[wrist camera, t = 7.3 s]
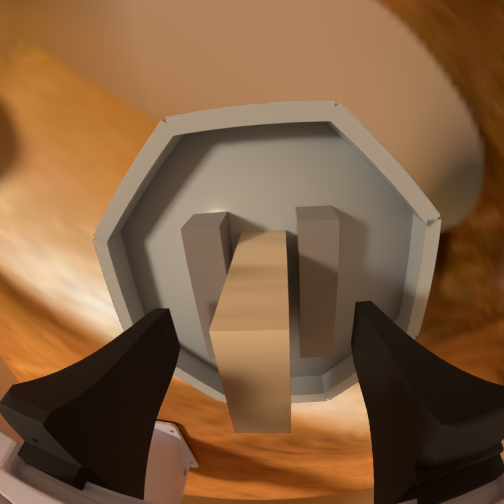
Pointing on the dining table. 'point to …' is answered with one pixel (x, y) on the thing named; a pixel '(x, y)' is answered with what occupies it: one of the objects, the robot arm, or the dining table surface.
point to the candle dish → (268, 219)
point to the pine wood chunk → (255, 335)
